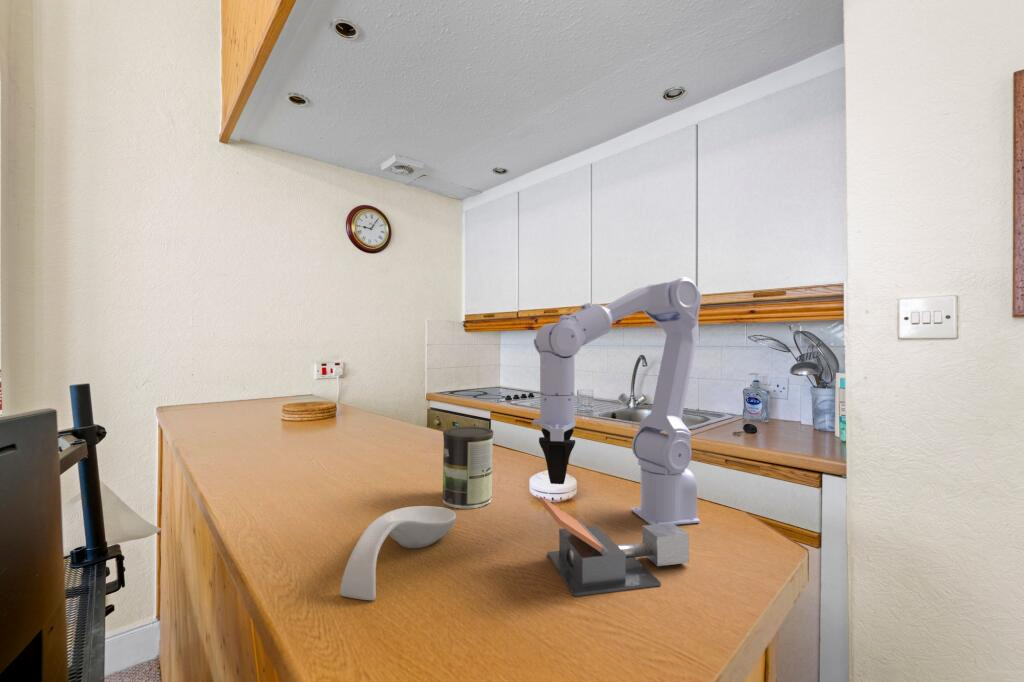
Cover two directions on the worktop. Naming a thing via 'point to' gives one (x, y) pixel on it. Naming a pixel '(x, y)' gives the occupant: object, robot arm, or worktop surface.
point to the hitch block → (598, 566)
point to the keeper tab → (573, 526)
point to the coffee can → (467, 467)
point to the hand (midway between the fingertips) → (557, 476)
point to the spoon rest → (405, 528)
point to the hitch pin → (658, 545)
